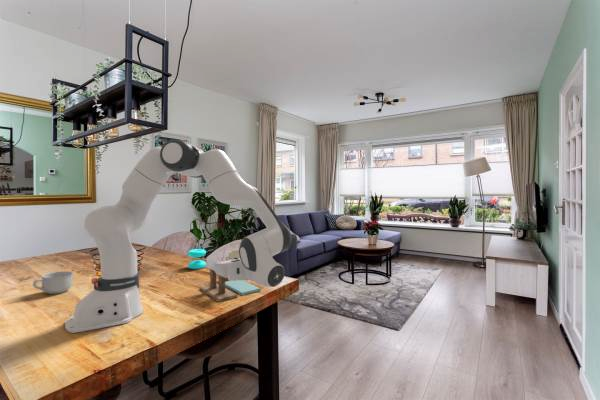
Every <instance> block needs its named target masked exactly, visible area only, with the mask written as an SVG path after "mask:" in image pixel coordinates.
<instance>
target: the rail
mask: <svg viewBox="0 0 600 400" xmlns="http://www.w3.org/2000/svg"><path fill="white" fill-rule="evenodd" d="M220 261H222V260H221V259H218V258H217V257H213V256H212V257H207V258H206V268H207V269H209V270H210V269H212V270H214V271H215V263H217V262H220Z"/></svg>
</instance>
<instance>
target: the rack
mask: <svg viewBox="0 0 600 400" xmlns="http://www.w3.org/2000/svg"><path fill="white" fill-rule="evenodd" d="M217 275H218V274H216V273H215V271H214V270H212V269H209V276H210V277H209V284H207V285H206V284H205V285H203V286H202V285H201V286H199V290H200V291H201V292H203V293H205V294H206V295H208V296H209V297H211V298H212V299H214V300H215V301H217V302H218V303H221V302H224V301H228V300H232V299H233V300H234V299H237V298H238V293H236V292H235V291H233V290H231V289H229V288H227V287H225V282H226V277H222V276H220V275H218V283H217Z"/></svg>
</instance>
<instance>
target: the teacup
mask: <svg viewBox="0 0 600 400" xmlns="http://www.w3.org/2000/svg"><path fill="white" fill-rule="evenodd" d="M73 275H74V272H73V271H68V270H60V271H52V272H47V273H43V275H41V278H37V279H35V280H33V282H32V286H33V288H34V289H37V290H39V291H41V292H44V293H46V294H49V295H57V294H63V293H65V292H67V291H68V290H69V289H71V288H72V285H73V280H74V279H73V278H74V276H73ZM38 282H40V283H41V287H40V286H38V285H37V284H38Z"/></svg>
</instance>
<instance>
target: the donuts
mask: <svg viewBox="0 0 600 400" xmlns="http://www.w3.org/2000/svg"><path fill="white" fill-rule="evenodd" d="M206 254H207V251H206V249H203V248H198V249H197V248H193V249H191V250H189V251H188V252H187V255H188V256H189V257H190V258H202V257H204V256H206ZM187 267H188V269H191V270H200V269H203V268H206V267H207V261H205V260H201V259H199V260H197V259H195V260H192V261H189V262H188V265H187Z"/></svg>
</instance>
